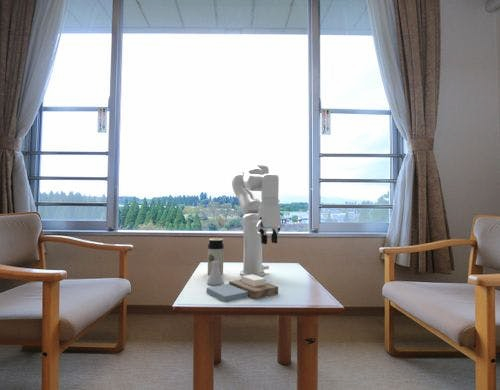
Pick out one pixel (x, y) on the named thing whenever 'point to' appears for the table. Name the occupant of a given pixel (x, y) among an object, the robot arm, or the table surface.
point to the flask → (215, 275)
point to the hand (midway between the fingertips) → (269, 242)
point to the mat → (227, 292)
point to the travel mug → (215, 253)
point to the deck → (256, 289)
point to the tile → (254, 280)
